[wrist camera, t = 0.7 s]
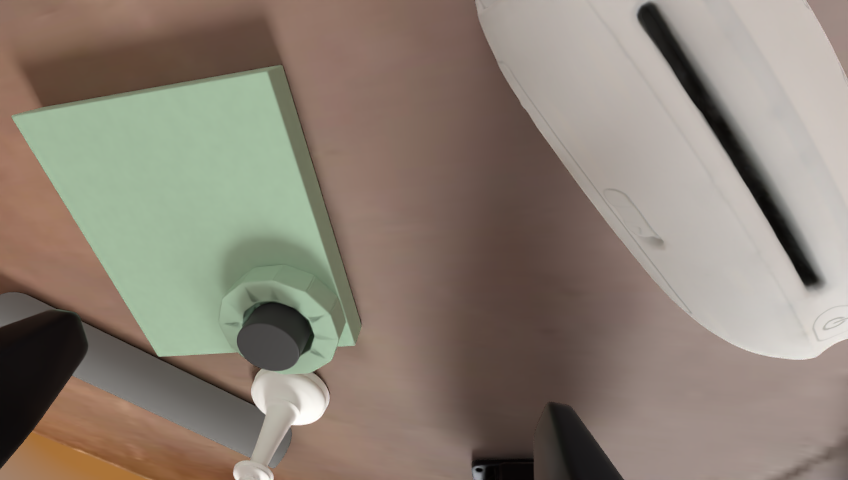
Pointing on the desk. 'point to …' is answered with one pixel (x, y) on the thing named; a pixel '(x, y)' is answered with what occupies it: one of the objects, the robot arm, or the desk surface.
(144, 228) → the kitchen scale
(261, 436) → the chess piece
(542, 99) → the white rounded block
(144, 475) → the desk surface
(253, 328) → the button
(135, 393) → the gray half cylinder
